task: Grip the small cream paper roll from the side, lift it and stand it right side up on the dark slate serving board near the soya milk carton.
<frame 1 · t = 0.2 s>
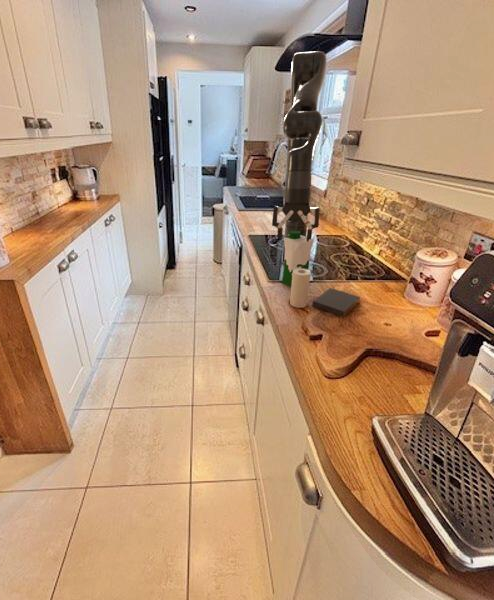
hand: (294, 240, 104), 22 cm above the worktop, tool pointing down, fingers open, 8 cm apart
paper roll: (298, 303, 112), on the worktop
soya milk: (294, 283, 127), on the worktop
slate board: (335, 304, 112), on the worktop
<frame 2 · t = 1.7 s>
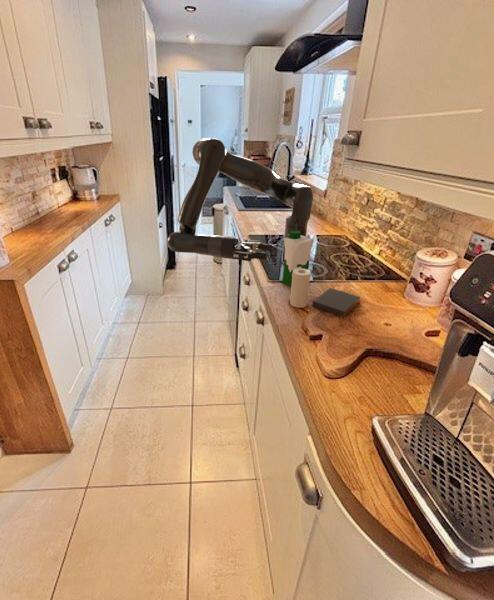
hand: (269, 251, 107), 18 cm above the worktop, tool horizontal, fingers open, 8 cm apart
nothing on the worktop moved.
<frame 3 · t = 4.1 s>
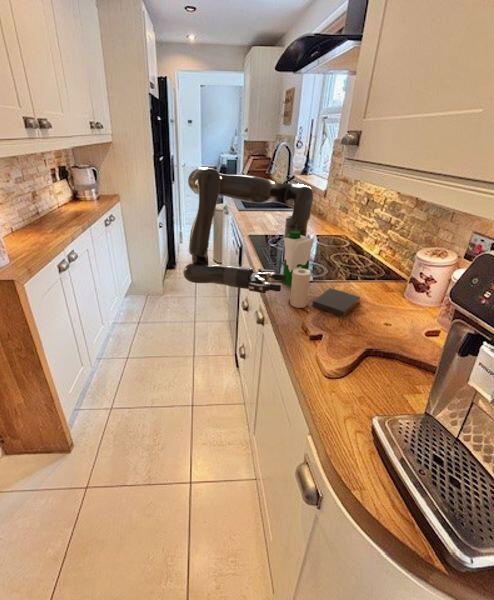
hand: (283, 283, 111), 7 cm above the worktop, tool horizontal, fingers open, 8 cm apart
nothing on the worktop moved.
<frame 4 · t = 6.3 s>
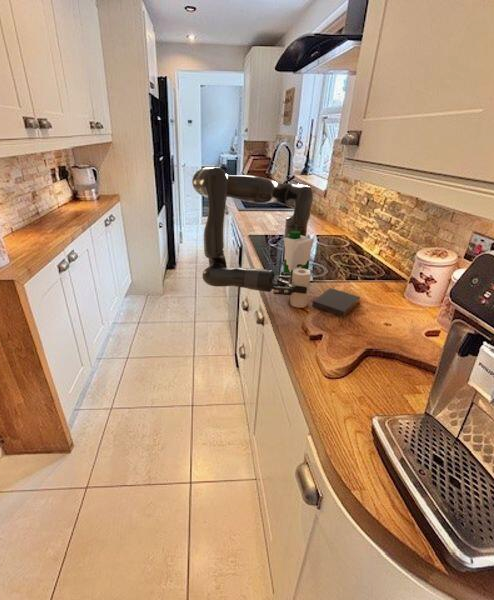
hand: (307, 286, 108), 7 cm above the worktop, tool horizontal, fingers closed on paper roll, 5 cm apart
paper roll: (298, 303, 112), on the worktop, touching gripper
everything else where it was.
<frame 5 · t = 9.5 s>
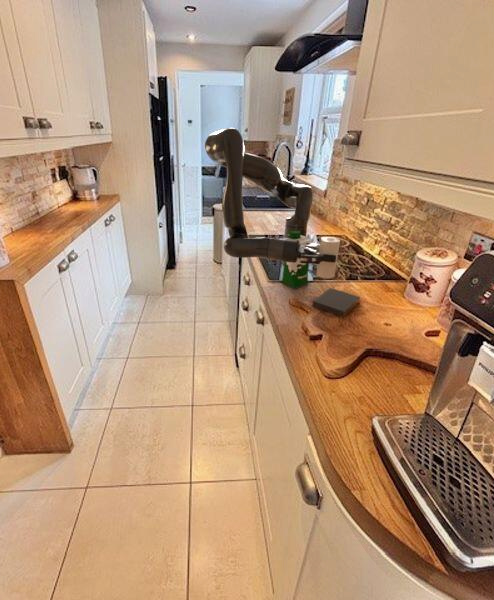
hand: (336, 255, 103), 18 cm above the worktop, tool horizontal, fingers closed on paper roll, 5 cm apart
paper roll: (325, 274, 107), point 11 cm above the worktop, touching gripper
everything else where it was.
when the fingers open (9 cm above the worktop, at t = 13.1 s): paper roll stays where it is, resting on slate board.
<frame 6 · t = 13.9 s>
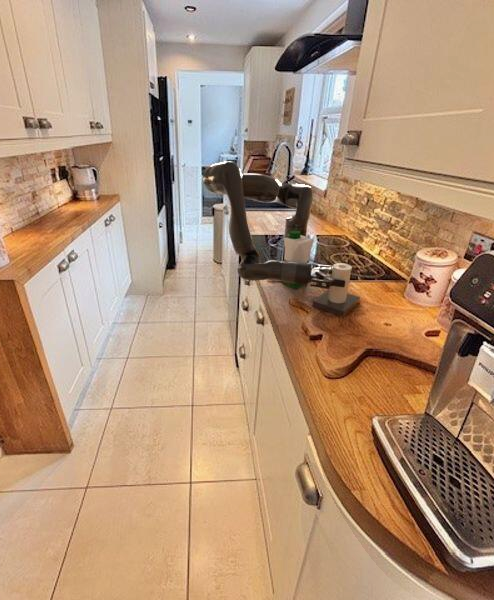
hand: (345, 278, 107), 10 cm above the worktop, tool horizontal, fingers open, 8 cm apart
paper roll: (336, 299, 111), point 2 cm above the worktop, touching slate board
everything else where it was.
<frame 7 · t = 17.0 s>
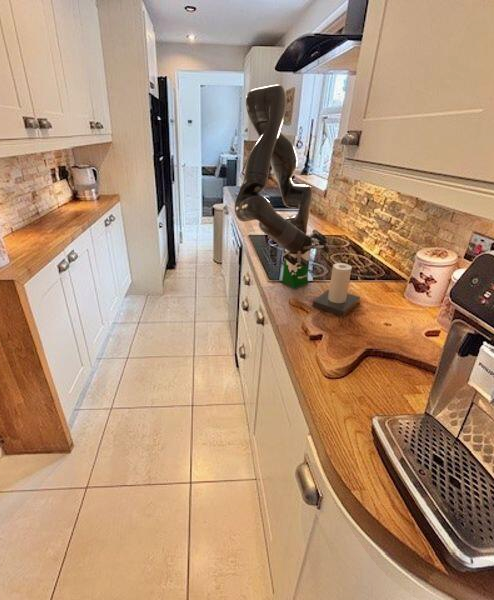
hand: (317, 257, 113), 13 cm above the worktop, tool tilted 55°, fingers open, 8 cm apart
nothing on the worktop moved.
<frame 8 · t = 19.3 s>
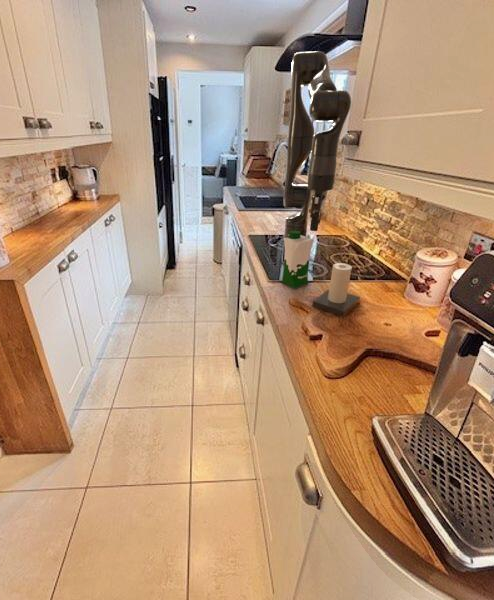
hand: (315, 226, 102), 26 cm above the worktop, tool pointing down, fingers open, 8 cm apart
nothing on the worktop moved.
at the end: paper roll inside the target area on the slate board (0.1 cm from its centre), point 2.0 cm above the slate board's base; paper roll tilted 0°; the gripper is holding nothing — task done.
